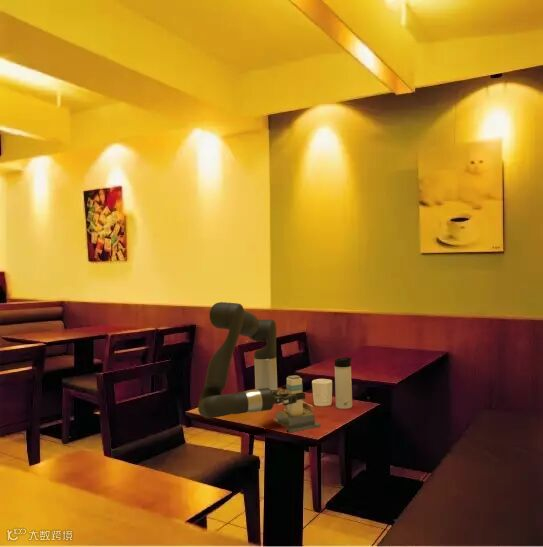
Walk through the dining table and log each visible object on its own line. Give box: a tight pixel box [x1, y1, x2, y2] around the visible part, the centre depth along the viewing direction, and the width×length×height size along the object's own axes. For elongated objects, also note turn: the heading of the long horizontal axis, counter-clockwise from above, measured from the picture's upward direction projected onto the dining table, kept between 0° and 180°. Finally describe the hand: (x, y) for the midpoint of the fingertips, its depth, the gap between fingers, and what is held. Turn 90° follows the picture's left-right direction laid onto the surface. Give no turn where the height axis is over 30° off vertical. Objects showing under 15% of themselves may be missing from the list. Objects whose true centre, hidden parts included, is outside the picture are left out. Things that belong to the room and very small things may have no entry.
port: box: [271, 409, 321, 433], centre depth 195 cm, size 14×12×4 cm
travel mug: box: [334, 356, 353, 410], centre depth 212 cm, size 6×7×20 cm
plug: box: [285, 375, 304, 416], centre depth 195 cm, size 4×4×15 cm
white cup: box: [311, 378, 333, 407], centre depth 218 cm, size 8×8×10 cm
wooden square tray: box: [283, 400, 315, 413], centre depth 210 cm, size 9×9×3 cm
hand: (301, 394), depth 196 cm, fingers closed on plug, 4 cm apart
